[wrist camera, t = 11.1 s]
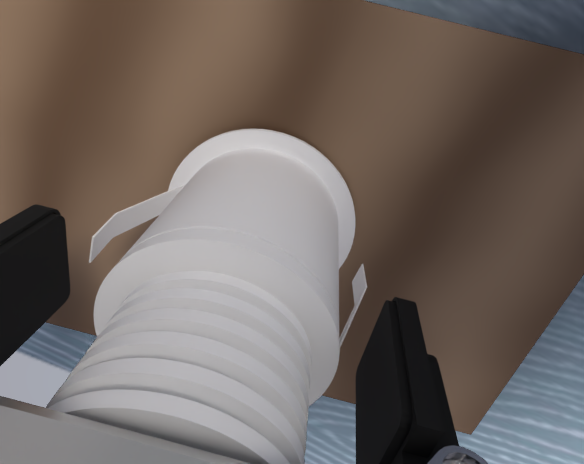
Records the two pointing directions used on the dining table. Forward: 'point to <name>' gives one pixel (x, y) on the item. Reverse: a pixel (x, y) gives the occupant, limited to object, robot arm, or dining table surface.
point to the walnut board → (326, 139)
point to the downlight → (223, 302)
